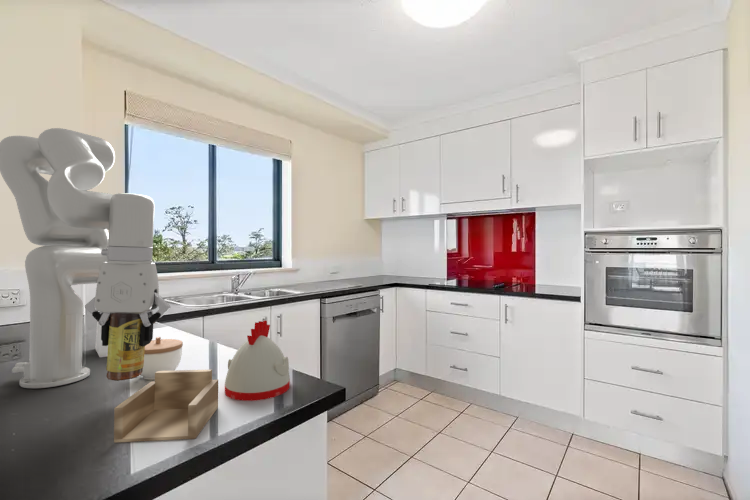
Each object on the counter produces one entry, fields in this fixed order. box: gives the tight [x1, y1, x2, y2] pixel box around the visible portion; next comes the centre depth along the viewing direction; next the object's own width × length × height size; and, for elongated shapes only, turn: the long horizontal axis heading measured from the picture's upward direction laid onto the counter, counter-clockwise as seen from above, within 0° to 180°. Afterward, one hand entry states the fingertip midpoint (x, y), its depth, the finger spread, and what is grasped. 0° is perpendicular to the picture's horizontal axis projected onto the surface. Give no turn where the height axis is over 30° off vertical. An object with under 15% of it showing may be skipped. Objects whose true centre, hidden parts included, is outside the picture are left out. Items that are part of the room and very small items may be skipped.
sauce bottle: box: [106, 313, 145, 382], centre depth 75 cm, size 7×6×20 cm
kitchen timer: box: [224, 320, 291, 402], centre depth 83 cm, size 14×14×15 cm
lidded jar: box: [140, 336, 184, 381], centre depth 91 cm, size 11×11×9 cm
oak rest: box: [113, 369, 219, 444], centre depth 66 cm, size 12×12×8 cm
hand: (127, 343), depth 75 cm, fingers closed on sauce bottle, 6 cm apart
